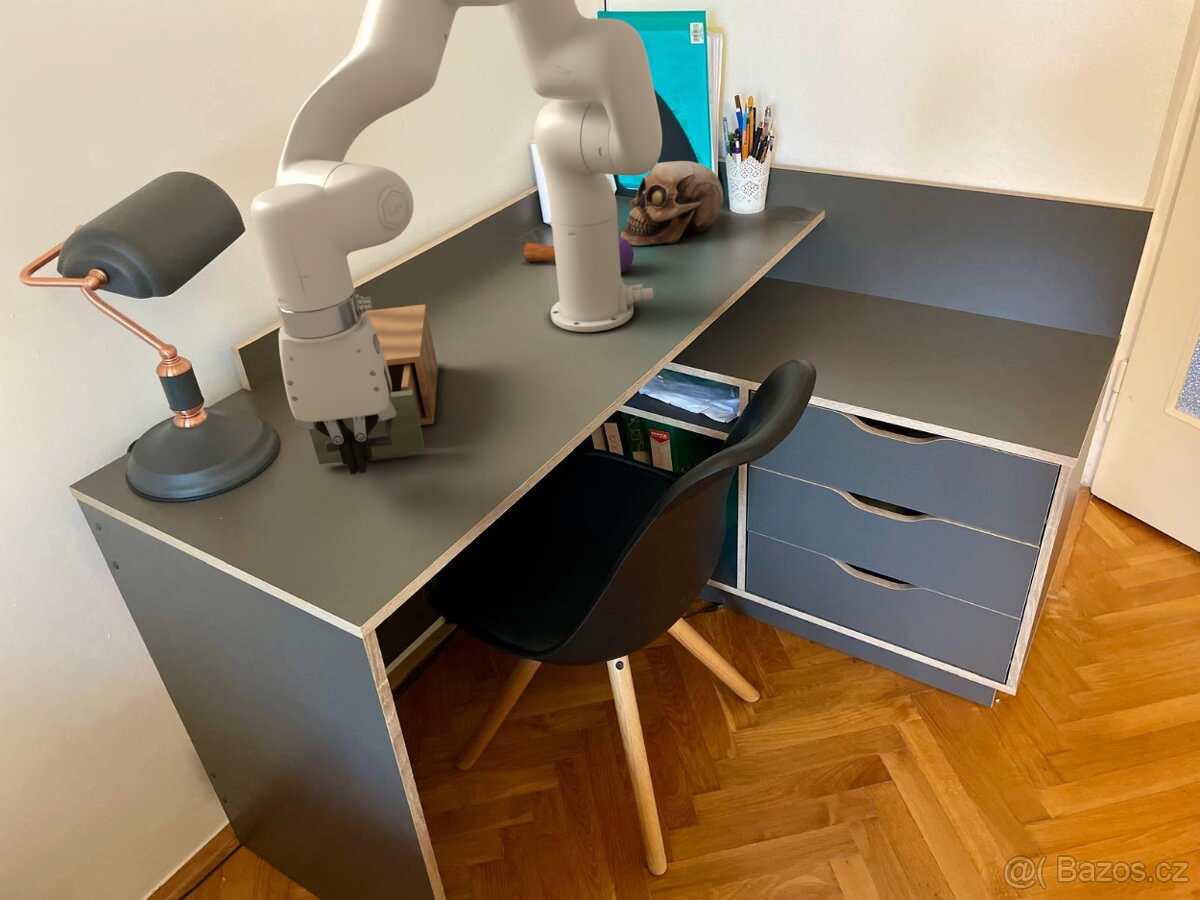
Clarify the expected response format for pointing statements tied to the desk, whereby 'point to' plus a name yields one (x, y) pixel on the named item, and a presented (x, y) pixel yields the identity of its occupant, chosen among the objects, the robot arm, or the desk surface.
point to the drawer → (386, 422)
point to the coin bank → (673, 203)
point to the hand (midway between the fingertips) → (359, 466)
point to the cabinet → (409, 347)
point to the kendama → (547, 253)
